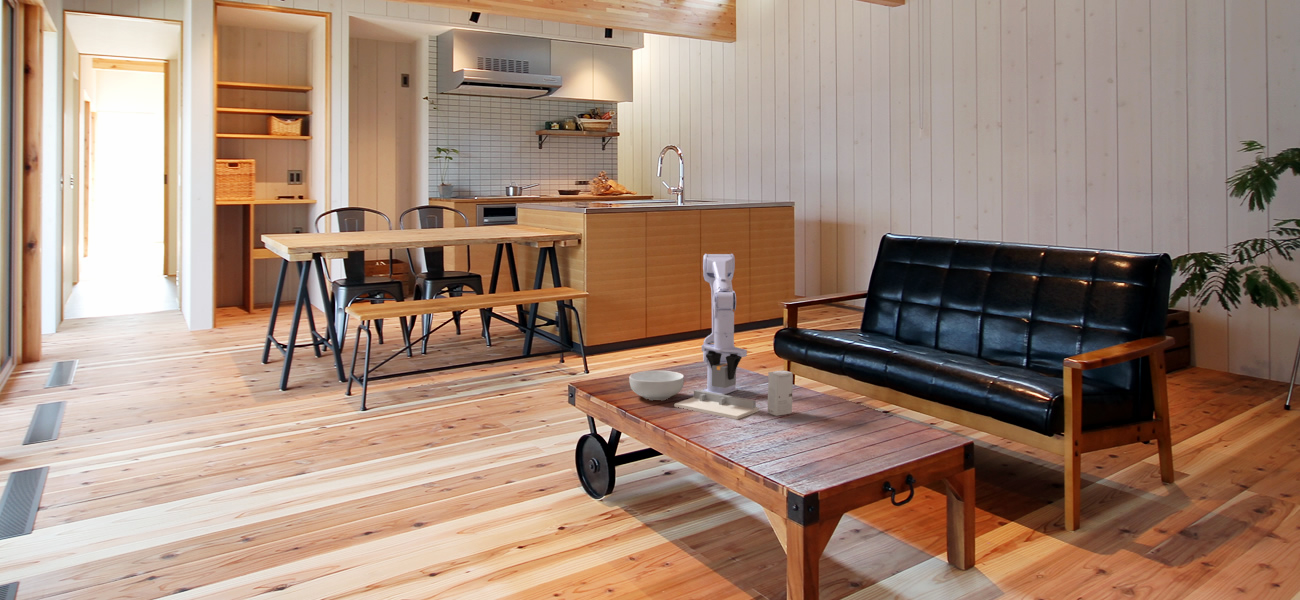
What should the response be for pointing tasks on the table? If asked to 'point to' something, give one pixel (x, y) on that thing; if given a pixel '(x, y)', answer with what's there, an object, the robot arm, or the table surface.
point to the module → (721, 376)
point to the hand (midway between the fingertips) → (723, 377)
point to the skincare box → (780, 392)
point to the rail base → (719, 405)
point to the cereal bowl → (656, 384)
